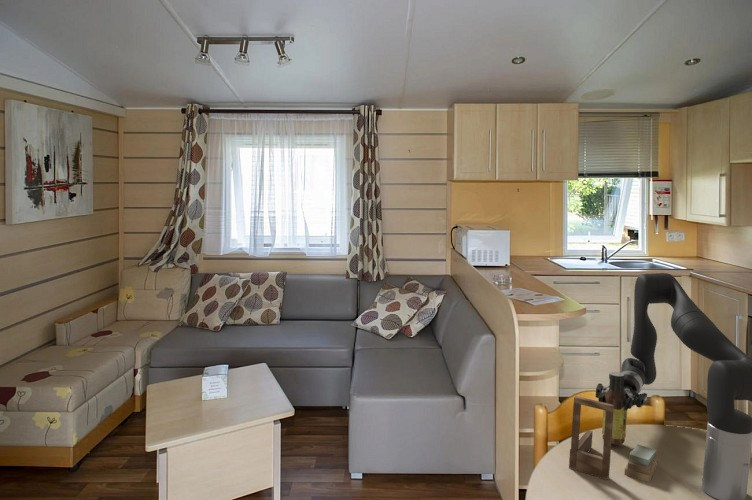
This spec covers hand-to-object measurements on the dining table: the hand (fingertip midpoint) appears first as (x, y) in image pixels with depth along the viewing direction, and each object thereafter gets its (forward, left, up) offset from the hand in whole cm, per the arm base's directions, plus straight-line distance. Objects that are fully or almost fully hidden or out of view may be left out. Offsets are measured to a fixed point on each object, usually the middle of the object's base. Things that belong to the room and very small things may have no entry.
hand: (613, 403), depth 156 cm
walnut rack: (+1, +12, -13) cm, 18 cm away
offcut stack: (-10, +9, -13) cm, 19 cm away
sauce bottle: (0, -3, -12) cm, 12 cm away
